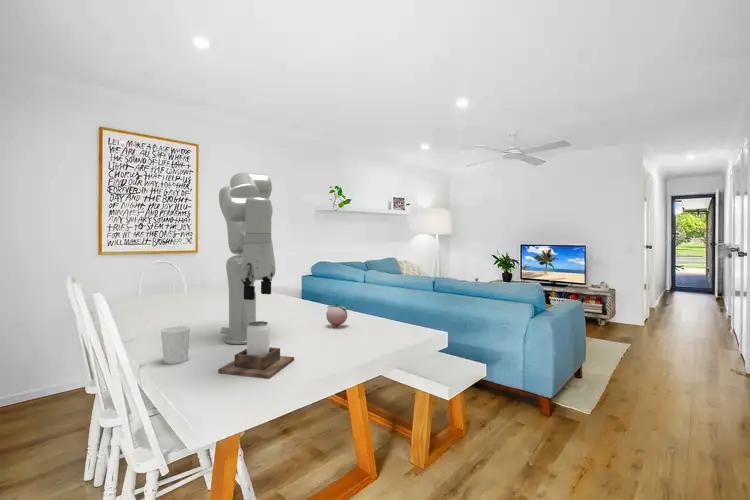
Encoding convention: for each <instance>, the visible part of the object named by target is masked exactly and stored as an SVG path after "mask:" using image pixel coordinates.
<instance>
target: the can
mask: <svg viewBox="0 0 750 500" xmlns="http://www.w3.org/2000/svg"><path fill="white" fill-rule="evenodd" d="M248 325H249V326H248V328H247V344H246V349H247V355H253V356H265V355H266V354H268V353H269V347H270V326H269V322H268V321H262V320H261V321H259V320H258V321H257V320H256V322H251V323H249V324H248Z"/></svg>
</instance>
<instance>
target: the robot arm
mask: <svg viewBox="0 0 750 500" xmlns="http://www.w3.org/2000/svg"><path fill="white" fill-rule="evenodd" d="M271 180H272V179H271V178H270V177H269V176H268V175H266V174H264V173H263V174H262V173H251V172H249V173H248V172H239V173H235V174H233V176H232V177H231V178H230V182H229V185H226V186H223V187H222V188H220V190H219V193H218V201H219V203H218V204H219V208H220V210H221V213H222V215H223V217H224V220H225V221H226V222H225V223H226V228H227V230H226V231H227V241H228V242H227V243H228V248H229V251H230V252H231V253H232V254H233V256H230V257H229V258H228V259H227V260H226V263H225V269H226V275H227V284H228V285H227V286H228V327H226V326H223V327H221V328H220V330H219V331H220V332H219V333H220V334H225V336H224V337H223V338H224V342H225V343H226V344H231V345H247V328H248V326H249V325H248V324H249V323H251V322H256V321H257V292H256V286H255V282H256V281H260V294H261V295H271V294H272V281H273V278H274V277H275V275H276V271H277V270H276V269H277V268H276V259H275V254H274V253H275V252H274V245H273V239H272V217H273V205H272V201H271V199H270V197H271V194H272V190H273V185H272V181H271Z"/></svg>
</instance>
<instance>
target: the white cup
mask: <svg viewBox="0 0 750 500" xmlns="http://www.w3.org/2000/svg"><path fill="white" fill-rule="evenodd" d="M160 331H161V333H160V334H161V347H162V355H163V357H162V359H163V363H164V364H167V365H175V364H176V365H177V364H181V363H185V362H186V361H188V359H189V351H190V350H189V348H190V333H191V329H190V326H188V325H187V326H186V325H174V326H173V325H172V326H167V327H163V328H162V329H161V330H160Z"/></svg>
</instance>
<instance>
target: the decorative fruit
mask: <svg viewBox="0 0 750 500" xmlns="http://www.w3.org/2000/svg"><path fill="white" fill-rule="evenodd" d="M326 308H327V311H326V320H327V321H328V323H329V324H330V325H331V326H332V325H333V326H335V327H337V328H338V326H341V325H343V324H344V323H345V322H346V321H347V319H348V308H346V307H345V306H342V305H338V303H336V305H333V304H332V305H328V306H327V307H326Z"/></svg>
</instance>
